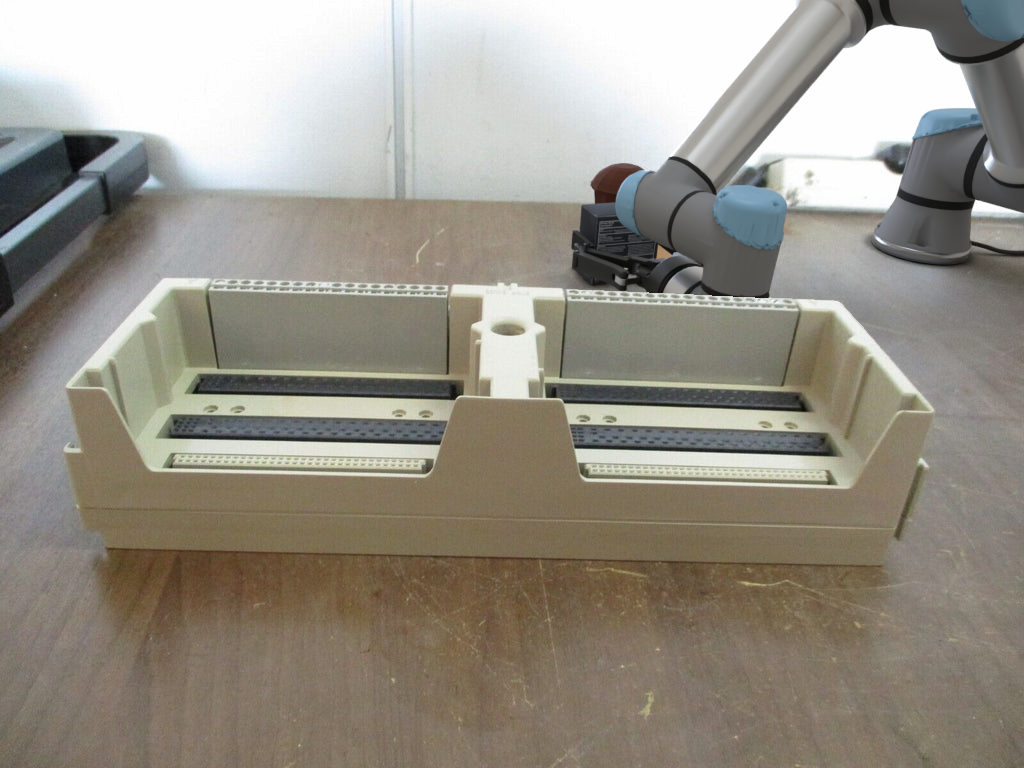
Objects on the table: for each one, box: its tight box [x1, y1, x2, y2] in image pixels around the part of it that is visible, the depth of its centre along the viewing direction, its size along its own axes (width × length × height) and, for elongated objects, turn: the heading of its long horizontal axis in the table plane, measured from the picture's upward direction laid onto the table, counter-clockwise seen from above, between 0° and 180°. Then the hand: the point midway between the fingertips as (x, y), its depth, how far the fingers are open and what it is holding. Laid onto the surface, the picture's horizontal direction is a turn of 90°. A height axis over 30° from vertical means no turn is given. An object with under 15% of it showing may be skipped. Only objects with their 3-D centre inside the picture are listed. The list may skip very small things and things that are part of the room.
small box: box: [578, 202, 658, 286], centre depth 113 cm, size 11×6×10 cm, turn 108°
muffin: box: [590, 162, 645, 204], centre depth 135 cm, size 12×11×10 cm
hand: (616, 236), depth 113 cm, fingers open, 13 cm apart
